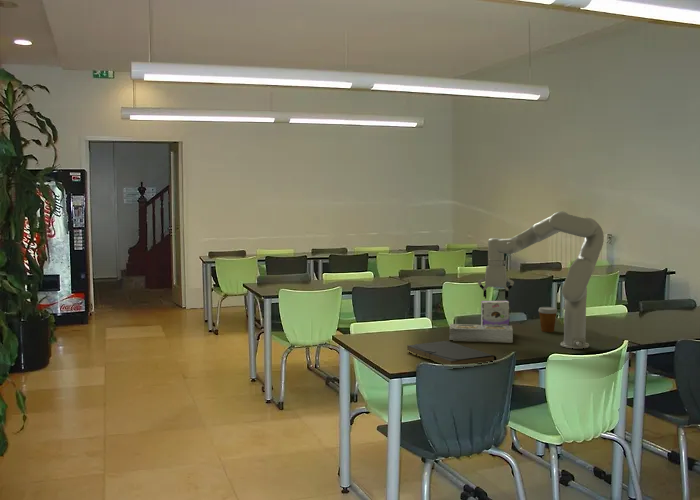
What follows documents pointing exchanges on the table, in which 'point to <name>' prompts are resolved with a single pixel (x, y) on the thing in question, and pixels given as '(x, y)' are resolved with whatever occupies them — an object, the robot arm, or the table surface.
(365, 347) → the table surface
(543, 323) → the disposable coffee cup
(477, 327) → the label stand
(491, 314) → the candy box
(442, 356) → the file folder
